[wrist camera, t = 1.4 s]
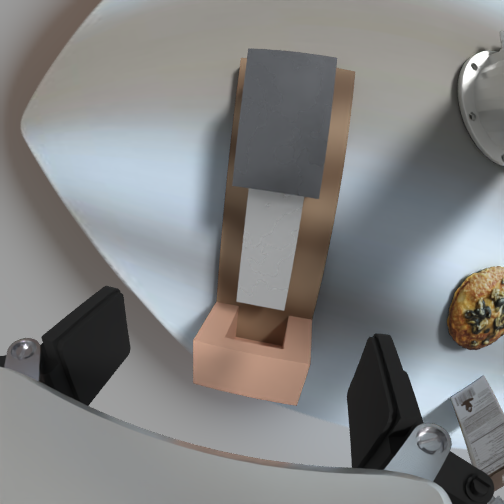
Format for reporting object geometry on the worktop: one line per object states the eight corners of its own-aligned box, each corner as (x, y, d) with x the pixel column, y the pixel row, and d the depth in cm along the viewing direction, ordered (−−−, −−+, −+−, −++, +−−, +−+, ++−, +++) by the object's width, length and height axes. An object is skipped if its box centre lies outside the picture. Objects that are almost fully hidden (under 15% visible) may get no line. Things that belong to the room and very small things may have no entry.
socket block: (216, 301, 31) (193, 340, 24) (312, 319, 30) (310, 364, 23) (214, 342, 33) (193, 383, 26) (301, 359, 32) (296, 405, 25)
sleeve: (262, 69, 22) (248, 48, 17) (331, 77, 22) (337, 57, 16) (249, 177, 26) (232, 185, 20) (316, 187, 25) (318, 199, 20)
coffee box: (492, 402, 31) (521, 475, 16) (459, 422, 33) (482, 499, 18) (484, 373, 30) (523, 457, 15) (447, 397, 32) (476, 485, 17)
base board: (244, 62, 24) (241, 58, 22) (352, 75, 22) (355, 71, 21) (217, 338, 34) (213, 345, 33) (301, 354, 33) (300, 363, 32)
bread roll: (463, 358, 29) (475, 379, 25) (427, 299, 30) (440, 316, 25) (522, 304, 26) (541, 318, 21) (492, 238, 26) (514, 246, 21)
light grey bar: (270, 77, 22) (263, 65, 18) (319, 83, 21) (320, 72, 17) (246, 281, 28) (236, 301, 25) (288, 288, 28) (284, 310, 24)
